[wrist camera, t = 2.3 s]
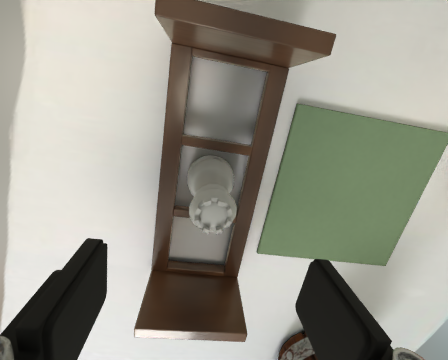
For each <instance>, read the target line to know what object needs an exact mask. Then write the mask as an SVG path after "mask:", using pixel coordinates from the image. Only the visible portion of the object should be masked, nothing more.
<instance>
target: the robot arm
mask: <svg viewBox="0 0 448 360" xmlns="http://www.w3.org/2000/svg"><path fill="white" fill-rule="evenodd" d="M106 294H107V244H106V243H103V240H101V239H90V238H88V239H86V240H85V241H84V243H83V244H82V245H81V246H80V248H79V249H78V250H77V251H76V253H75V254H74V255H73V256H72V258H71V259H70V260H69V261H68V263H67V264H66V265H65V266H64V268H63V269H62V270H56V271H54V272H53V273H52V274H51V275H50V276H49V278H48V279H47V280H46V281H45V282H44V283H43V285H42V286H41V287H40V288H39V289H38V291H37V292H36V293H35V294H34V295H33V297H32V298H31V299H30V300H29V301H28V303H27V304H26V305H25V306H24V307H23V308H22V310H21V311H20V312H19V313H18V314H17V316H16V317H15V318H14V319H13V320H12V322H11V323H10V324H9V325H8V326H7V327H6V329H5V330H4V331H3V332H2V333H1V335H0V360H77V359H78V357H79V355H80V352H81V350H82V348H83V346H84V344H85V342H86V340H87V338H88V335H89V333H90V331H91V329H92V327H93V325H94V323H95V321H96V318H97V316H98V314H99V312H100V310H101V308H102V306H103V304H104V301H105V298H106ZM296 312H297V314H298V316H299V319H300V321H301V323H302V325H303V328H304V330H305V332H306V334H307V337H308V339H309V341H310V343H311V346H312V348H313V350H314V352H315V355H316V357H317V359H318V360H425V359H424V358H422V357H421V356H419V355H418V354H416V353H415V352H413V351H411V350H409V349H405V348H396V349H394V350H393V349H392V347H391V346H390V344H391V342H392V341H391V339H390V338H389V337H388V335H387V334H386V333H385V332H384V330H383V329H382V328H381V327H380V325H379V324H378V323H377V321H376V320H375V319H374V318H373V316H372V315H371V314H370V312H369V311H368V310H367V309H366V307H365V306H364V305H363V304H362V302H361V301H360V300H359V298H358V297H357V296H356V295H355V293H354V292H353V291H352V289H351V288H350V287H349V286H348V284H347V283H346V282H345V280H344V279H343V278H342V277H341V275H340V274H339V273H338V272H337V270H336V269H335V268H334V266H333V265H332V264H331V263H330V261H329V260H324V259H315V260H314V261H313V262H311V263H310V265H309V268H308V271H307V274H306V276H305V279H304V282H303V285H302V288H301V290H300V293H299V296H298V299H297V301H296Z"/></svg>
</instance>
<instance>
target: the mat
mask: <svg viewBox="0 0 448 360" xmlns="http://www.w3.org/2000/svg"><path fill="white" fill-rule="evenodd" d="M447 144H448V133H446V132H441V131H436V130H430V129H425V128H420V127H415V126H410V125H405V124H400V123H394V122H389V121H384V120H379V119H374V118H369V117H364V116H358V115H353V114H348V113H343V112H338V111H333V110H328V109H322V108H317V107H312V106H307V105H302V104H297V105H296V109H295V112H294V116H293V120H292V123H291V127H290V131H289V135H288V138H287V142H286V146H285V149H284V153H283V157H282V160H281V164H280V168H279V171H278V175H277V179H276V183H275V186H274V190H273V194H272V197H271V201H270V205H269V208H268V212H267V216H266V219H265V223H264V227H263V231H262V234H261V238H260V242H259V245H258V249H257V253H258V254H268V255H278V256H288V257H298V258H309V259H324V260H329V261H339V262H350V263H360V264H370V265H380V266H386V264H387V262H388V260H389V258H390V256H391V254H392V252H393V250H394V248H395V246H396V244H397V242H398V240H399V238H400V236H401V234H402V232H403V230H404V228H405V226H406V225H407V223H408V221H409V219H410V217H411V215H412V213H413V211H414V209H415V207H416V205H417V203H418V201H419V199H420V197H421V195H422V193H423V191H424V189H425V187H426V185H427V183H428V181H429V179H430V177H431V175H432V173H433V172H434V170H435V168H436V166H437V164H438V162H439V160H440V158H441V156H442V154H443V152H444V150H445V148H446V146H447Z"/></svg>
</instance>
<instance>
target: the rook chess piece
mask: <svg viewBox="0 0 448 360" xmlns="http://www.w3.org/2000/svg"><path fill="white" fill-rule="evenodd" d="M187 185H188V188H189V190H190V192H191V194H192V195H193V196H194V198H193V200H192V202H191V204H190V206H189V215H190V218H191V220H192V222H193V223H194V224H195V225H196V227H198V228H200V229H202V232H203V233H206V234H209V232H210V231H216V235H217V234H220V233H223V229H225V228H226V227H228V228H229V227H230V225H231V223H232V222H233V220H234V218H235V217H236V211H237V206H236V204H235V201H234V199H233V198H232V197H231V196H230V192H231V191H232V189H233V187H234V173H233V170H232V167H231V166H230V165H229V164H228V162H227V161H226V160H224V159H222V158H220V157H218V156H209V155H207V156H204V157H201V158H198V159H197V160H196V161H195V162H194V163H192V164H191V166H190V168H189V170H188V172H187Z"/></svg>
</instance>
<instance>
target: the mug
mask: <svg viewBox="0 0 448 360" xmlns="http://www.w3.org/2000/svg"><path fill="white" fill-rule="evenodd" d="M278 360H318V359H317V357H316V355H315V352H314V350H313V348H312V346H311V343H310V341H309V339H308V337H307V334H306V332H305V334H304V335H303V334H302V333H301V332H300V333H298V334H296V335H294V336H293V337H291V338H290V339H289V340H288V341H287V342H286V343H285V344H284V345H283V347H282V349H281V351H280V353H279V357H278Z"/></svg>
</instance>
